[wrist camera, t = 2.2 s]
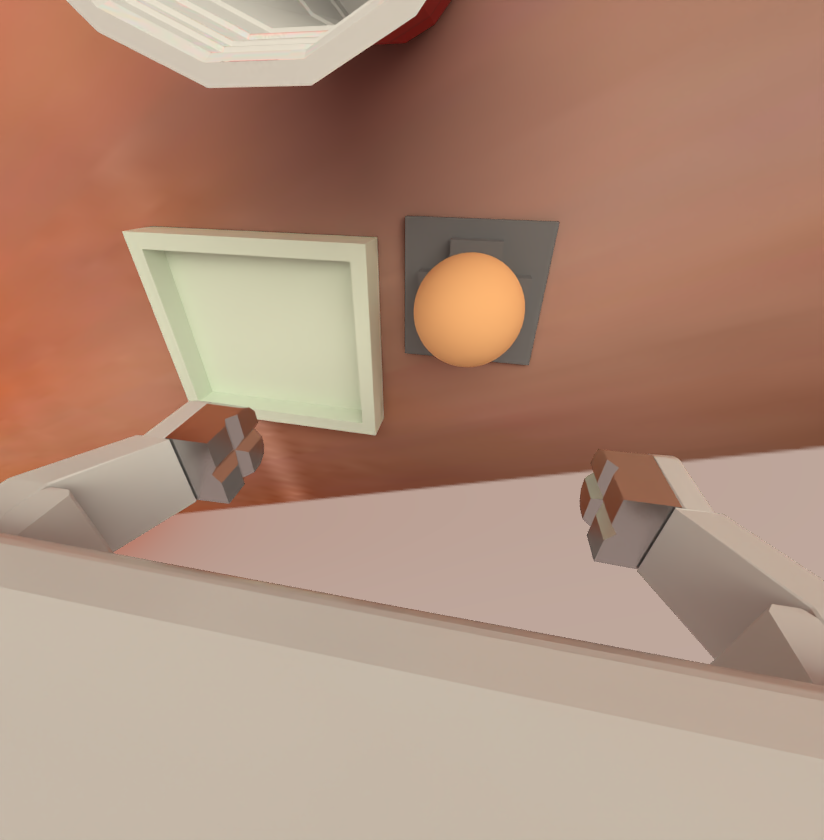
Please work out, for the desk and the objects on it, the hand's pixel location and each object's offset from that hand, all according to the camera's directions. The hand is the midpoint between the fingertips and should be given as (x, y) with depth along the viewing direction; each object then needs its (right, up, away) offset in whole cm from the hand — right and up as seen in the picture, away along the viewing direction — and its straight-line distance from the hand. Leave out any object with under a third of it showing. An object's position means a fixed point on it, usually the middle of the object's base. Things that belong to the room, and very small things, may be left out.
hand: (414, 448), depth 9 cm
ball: (+3, +7, +10) cm, 13 cm away
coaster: (+3, +7, +10) cm, 13 cm away
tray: (-8, +6, +14) cm, 17 cm away
